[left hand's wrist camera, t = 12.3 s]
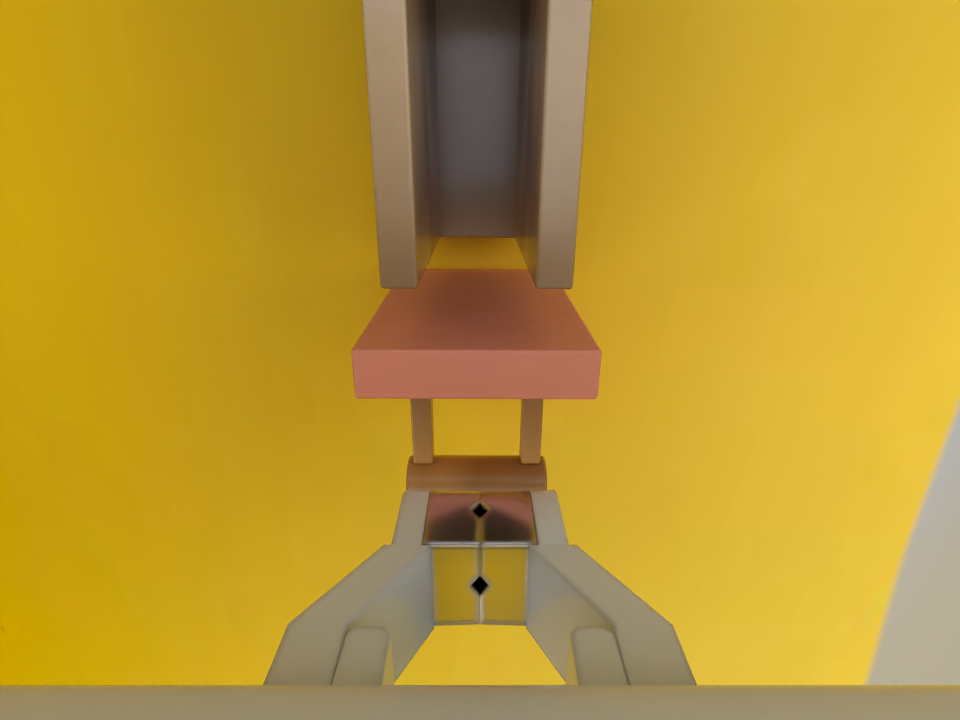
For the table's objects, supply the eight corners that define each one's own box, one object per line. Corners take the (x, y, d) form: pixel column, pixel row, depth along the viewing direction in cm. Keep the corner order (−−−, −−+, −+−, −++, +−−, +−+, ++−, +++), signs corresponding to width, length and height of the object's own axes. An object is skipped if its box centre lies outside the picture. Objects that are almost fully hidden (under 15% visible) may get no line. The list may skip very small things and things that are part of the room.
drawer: (543, 424, 22) (580, 580, 14) (410, 424, 22) (371, 579, 14) (596, -532, 12) (801, -1734, 4) (362, -534, 12) (155, -1746, 4)
